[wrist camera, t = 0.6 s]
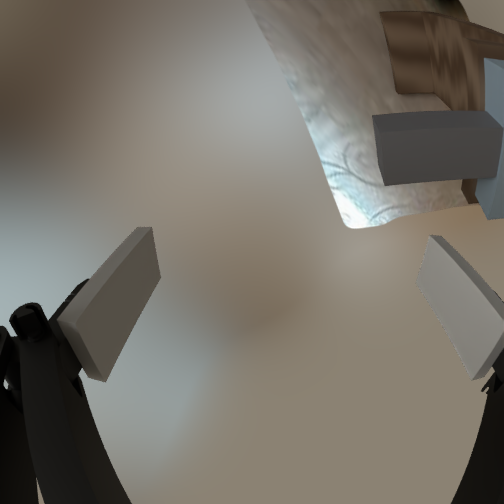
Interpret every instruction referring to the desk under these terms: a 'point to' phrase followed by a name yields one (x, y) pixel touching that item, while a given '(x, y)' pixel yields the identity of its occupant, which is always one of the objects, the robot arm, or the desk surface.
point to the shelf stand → (442, 61)
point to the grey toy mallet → (449, 145)
